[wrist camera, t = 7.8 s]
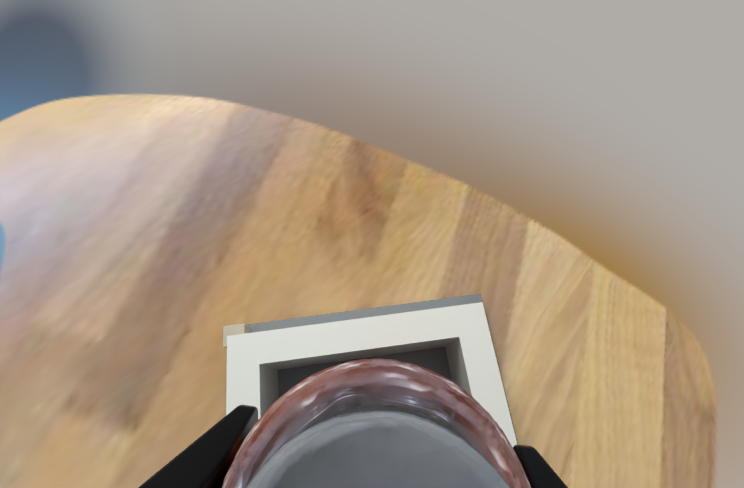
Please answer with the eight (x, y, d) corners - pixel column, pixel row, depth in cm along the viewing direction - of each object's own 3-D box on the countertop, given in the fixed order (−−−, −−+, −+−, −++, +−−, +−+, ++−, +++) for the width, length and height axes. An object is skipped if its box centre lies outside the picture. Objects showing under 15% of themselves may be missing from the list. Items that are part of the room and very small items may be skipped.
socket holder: (550, 603, 15) (606, 667, 11) (232, 658, 14) (186, 746, 10) (476, 298, 19) (500, 274, 16) (233, 330, 18) (201, 313, 15)
